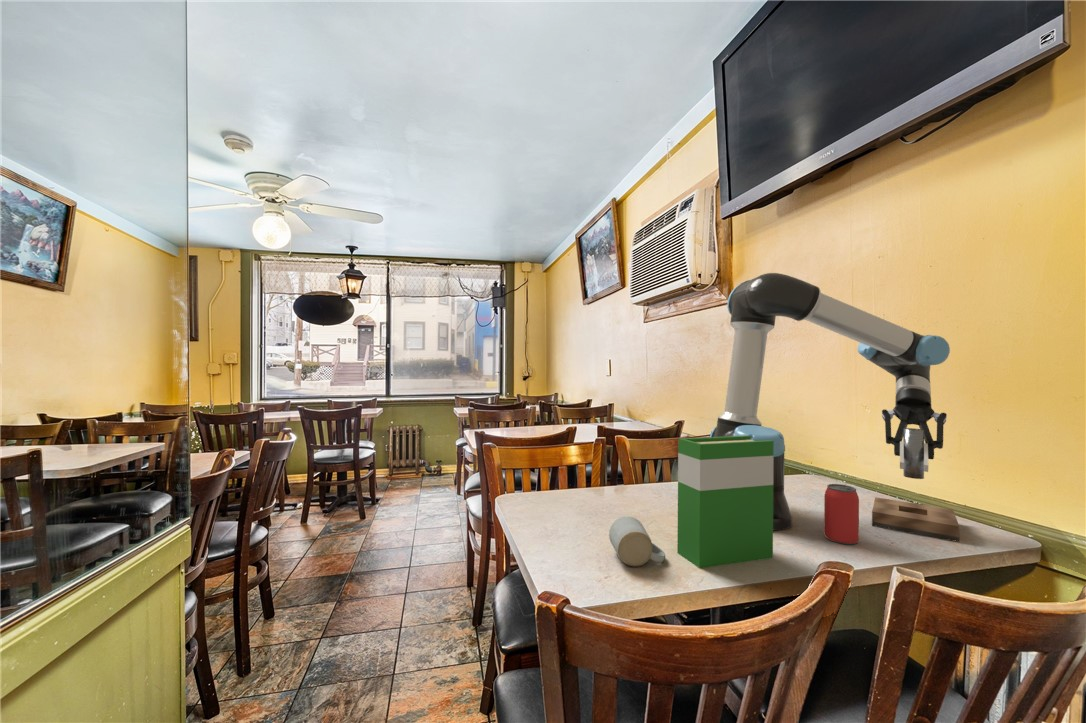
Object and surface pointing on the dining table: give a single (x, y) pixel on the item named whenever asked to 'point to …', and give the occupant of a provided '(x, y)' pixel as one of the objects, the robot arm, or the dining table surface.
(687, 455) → the cereal box
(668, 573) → the dining table surface
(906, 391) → the robot arm
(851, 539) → the beer can
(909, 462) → the steel pin
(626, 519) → the ceramic mug
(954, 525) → the socket block
